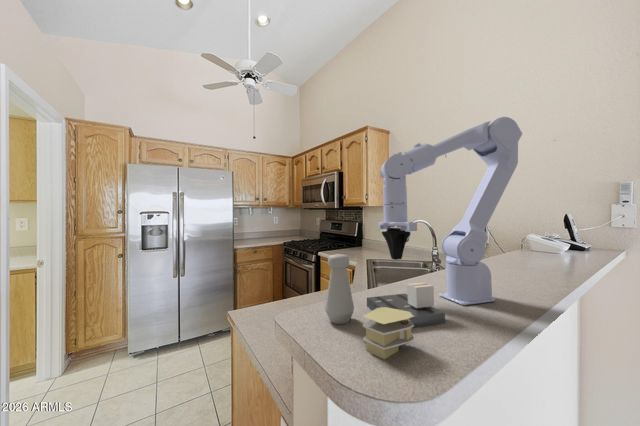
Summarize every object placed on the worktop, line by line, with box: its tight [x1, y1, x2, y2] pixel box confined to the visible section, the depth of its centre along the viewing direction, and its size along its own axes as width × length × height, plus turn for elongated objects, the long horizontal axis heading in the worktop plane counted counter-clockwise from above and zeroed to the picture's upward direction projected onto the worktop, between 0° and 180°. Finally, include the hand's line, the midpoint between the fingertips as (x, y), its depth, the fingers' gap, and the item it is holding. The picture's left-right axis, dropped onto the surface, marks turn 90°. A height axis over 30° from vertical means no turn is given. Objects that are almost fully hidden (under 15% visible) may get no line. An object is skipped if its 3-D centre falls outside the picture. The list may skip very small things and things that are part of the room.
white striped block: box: [406, 282, 435, 308], centre depth 51 cm, size 4×3×4 cm
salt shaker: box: [324, 253, 355, 325], centre depth 50 cm, size 6×6×13 cm
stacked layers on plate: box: [362, 307, 415, 360], centre depth 39 cm, size 10×9×6 cm
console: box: [366, 293, 446, 329], centre depth 52 cm, size 10×13×2 cm
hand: (396, 259), depth 62 cm, fingers closed
